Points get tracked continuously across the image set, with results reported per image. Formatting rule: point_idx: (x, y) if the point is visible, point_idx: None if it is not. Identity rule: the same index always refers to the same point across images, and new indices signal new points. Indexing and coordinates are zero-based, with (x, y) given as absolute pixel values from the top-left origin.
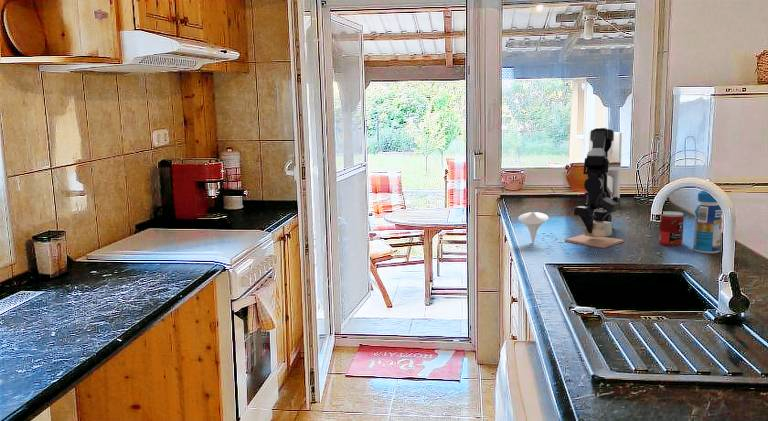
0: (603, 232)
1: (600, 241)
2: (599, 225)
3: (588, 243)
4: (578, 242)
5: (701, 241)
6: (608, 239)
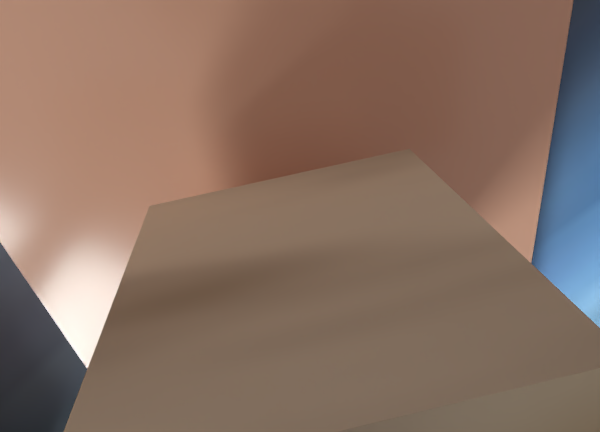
0: (176, 231)
1: (331, 93)
2: (408, 329)
3: (549, 113)
4: (525, 245)
5: None
6: (97, 133)
